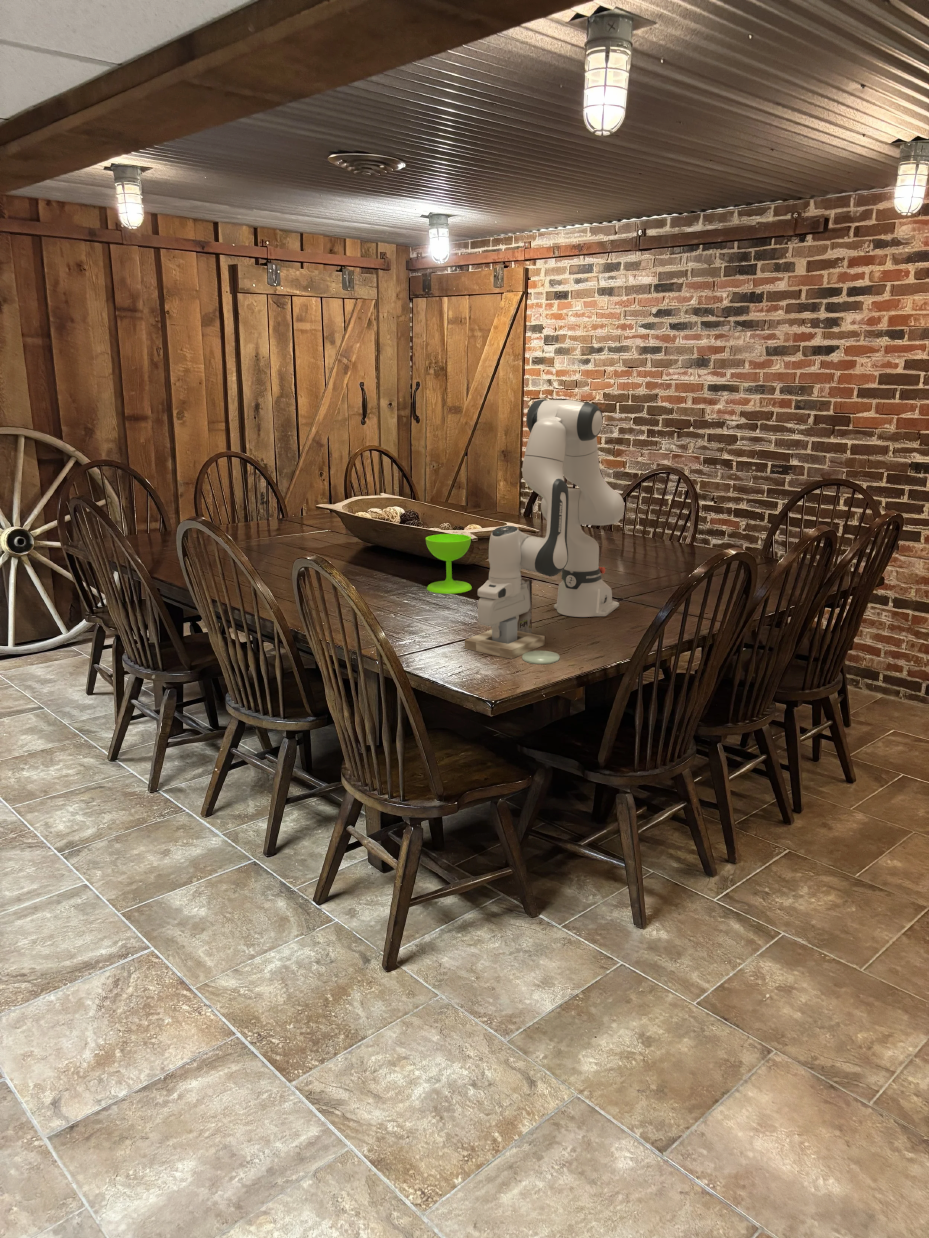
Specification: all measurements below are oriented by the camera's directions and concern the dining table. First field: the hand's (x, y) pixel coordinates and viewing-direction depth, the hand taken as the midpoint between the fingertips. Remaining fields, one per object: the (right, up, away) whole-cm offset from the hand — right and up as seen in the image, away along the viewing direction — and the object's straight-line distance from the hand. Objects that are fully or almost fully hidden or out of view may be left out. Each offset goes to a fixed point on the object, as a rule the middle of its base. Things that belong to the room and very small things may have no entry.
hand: (504, 634), depth 255 cm
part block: (0, -4, +1) cm, 4 cm away
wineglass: (-17, +15, +68) cm, 72 cm away
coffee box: (+3, 0, +14) cm, 15 cm away
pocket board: (0, -4, +1) cm, 4 cm away
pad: (+9, -6, -10) cm, 15 cm away
